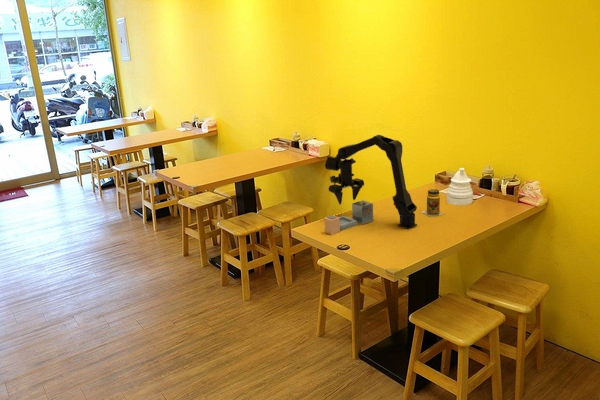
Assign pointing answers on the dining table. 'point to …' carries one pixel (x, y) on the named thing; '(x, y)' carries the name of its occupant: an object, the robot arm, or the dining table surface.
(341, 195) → the robot arm
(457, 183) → the honey pot
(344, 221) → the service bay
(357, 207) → the junction box
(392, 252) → the dining table surface
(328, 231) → the block
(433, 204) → the condiment
